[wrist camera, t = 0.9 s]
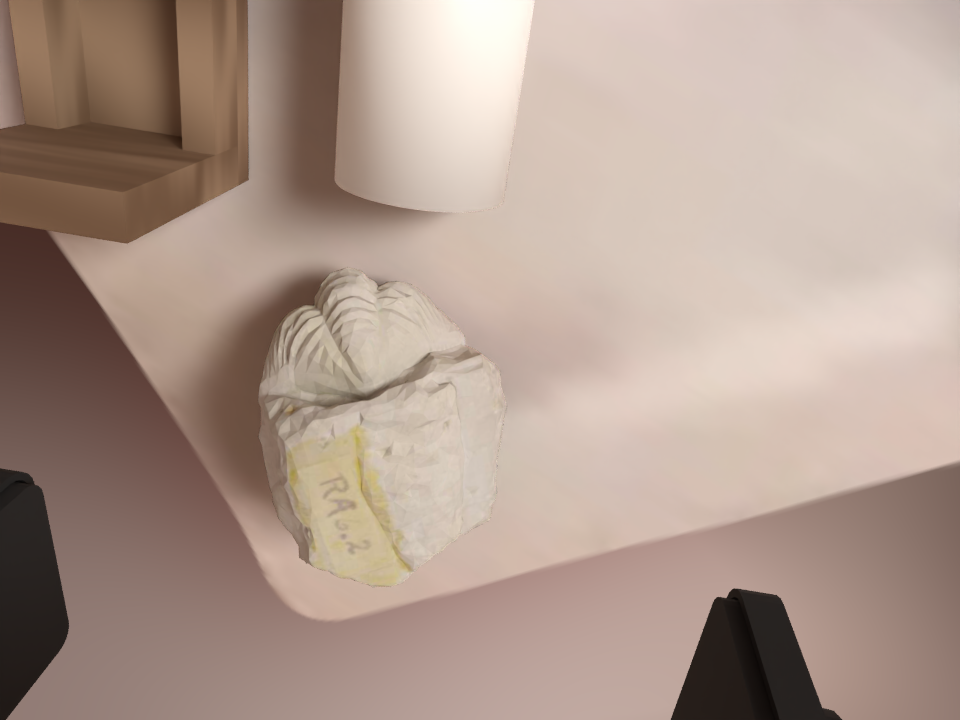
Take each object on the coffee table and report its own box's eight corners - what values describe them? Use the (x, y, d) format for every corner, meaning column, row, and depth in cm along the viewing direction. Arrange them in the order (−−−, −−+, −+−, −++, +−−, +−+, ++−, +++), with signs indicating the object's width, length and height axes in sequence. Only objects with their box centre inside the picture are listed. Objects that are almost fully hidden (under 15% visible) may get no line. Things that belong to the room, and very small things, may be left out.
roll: (384, -191, 23) (324, -254, 18) (566, -165, 23) (561, -222, 18) (361, 165, 28) (309, 199, 23) (510, 190, 28) (492, 231, 23)
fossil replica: (419, 210, 29) (252, 324, 33) (340, 271, 21) (136, 409, 25) (575, 440, 32) (404, 519, 36) (552, 564, 24) (340, 647, 28)
